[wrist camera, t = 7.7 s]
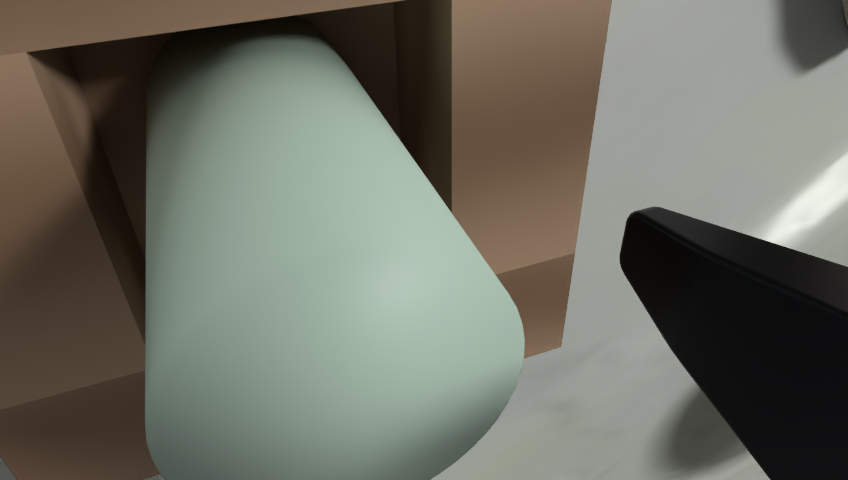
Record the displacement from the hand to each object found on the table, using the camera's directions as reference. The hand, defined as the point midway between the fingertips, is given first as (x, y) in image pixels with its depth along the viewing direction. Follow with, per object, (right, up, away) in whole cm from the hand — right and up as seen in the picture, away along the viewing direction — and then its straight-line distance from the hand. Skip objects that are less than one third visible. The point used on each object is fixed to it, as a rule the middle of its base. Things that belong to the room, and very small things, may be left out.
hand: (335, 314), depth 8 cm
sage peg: (-2, +4, +4) cm, 6 cm away
